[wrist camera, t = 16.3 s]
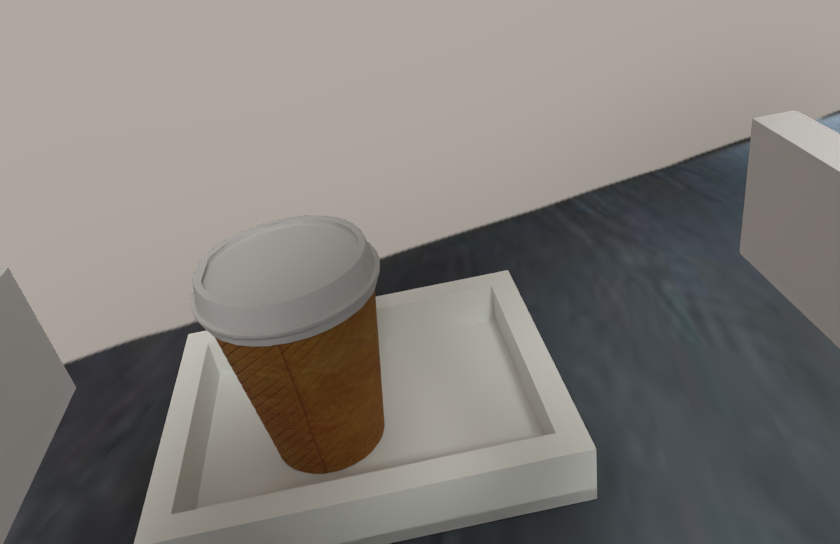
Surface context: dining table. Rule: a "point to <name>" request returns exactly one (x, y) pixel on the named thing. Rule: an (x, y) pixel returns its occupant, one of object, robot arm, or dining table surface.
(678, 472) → the dining table surface
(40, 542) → the dining table surface
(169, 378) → the dining table surface
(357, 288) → the disposable coffee cup
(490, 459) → the tray
